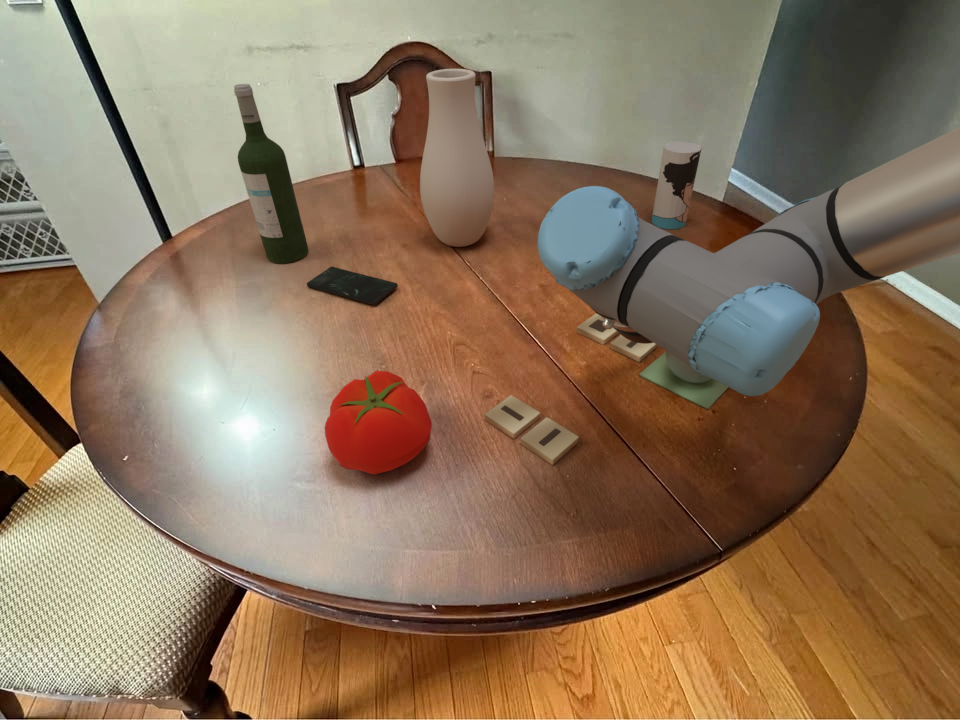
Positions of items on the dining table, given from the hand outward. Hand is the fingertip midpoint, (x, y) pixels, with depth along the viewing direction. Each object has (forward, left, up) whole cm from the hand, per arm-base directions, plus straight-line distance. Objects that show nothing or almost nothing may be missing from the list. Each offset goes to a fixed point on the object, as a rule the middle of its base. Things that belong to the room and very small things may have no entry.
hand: (687, 351), depth 70 cm
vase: (+53, -11, -6) cm, 55 cm away
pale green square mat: (+6, -4, -6) cm, 10 cm away
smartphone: (+54, +14, -6) cm, 56 cm away
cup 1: (+27, -45, -6) cm, 53 cm away
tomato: (+20, +33, -6) cm, 39 cm away
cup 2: (0, -4, -6) cm, 7 cm away
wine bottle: (+74, +15, -6) cm, 76 cm away
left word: (+9, +19, -6) cm, 22 cm away
